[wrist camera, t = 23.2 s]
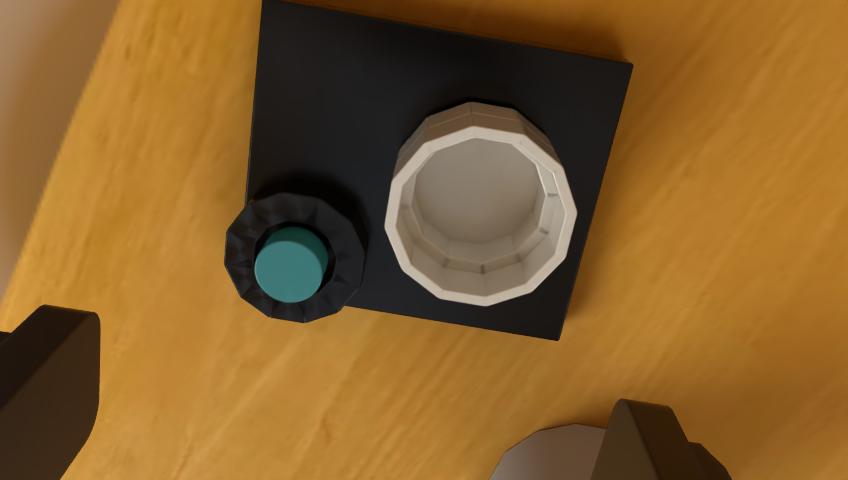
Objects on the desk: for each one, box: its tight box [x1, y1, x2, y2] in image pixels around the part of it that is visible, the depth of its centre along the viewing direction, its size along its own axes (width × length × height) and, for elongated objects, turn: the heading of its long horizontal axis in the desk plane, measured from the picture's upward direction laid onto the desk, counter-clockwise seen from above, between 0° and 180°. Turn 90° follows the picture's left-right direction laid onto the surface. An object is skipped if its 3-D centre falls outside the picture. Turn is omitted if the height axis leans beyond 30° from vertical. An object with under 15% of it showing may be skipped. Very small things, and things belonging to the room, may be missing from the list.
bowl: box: [384, 102, 577, 306], centre depth 28 cm, size 6×6×4 cm
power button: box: [255, 227, 328, 302], centre depth 29 cm, size 3×3×2 cm
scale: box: [224, 0, 633, 341], centre depth 30 cm, size 14×12×3 cm
